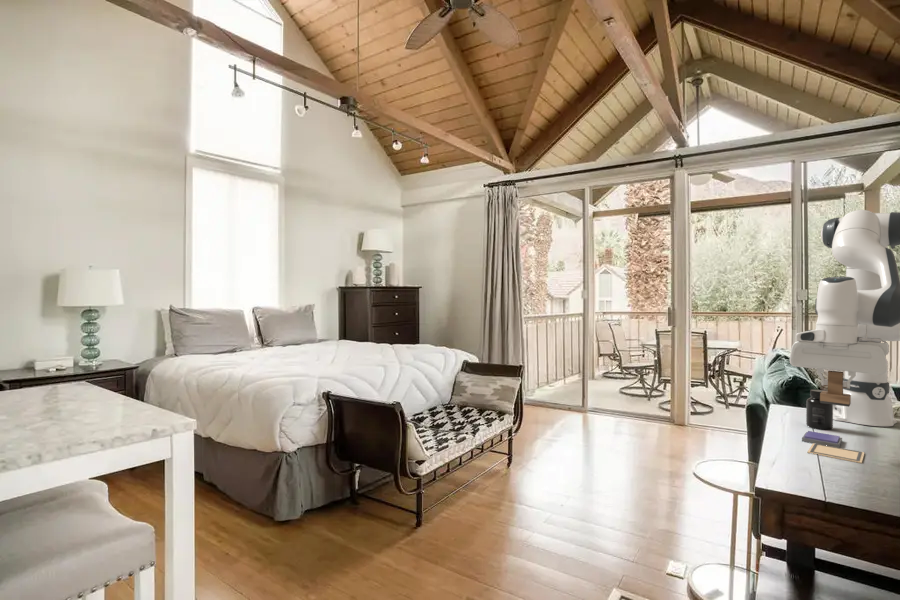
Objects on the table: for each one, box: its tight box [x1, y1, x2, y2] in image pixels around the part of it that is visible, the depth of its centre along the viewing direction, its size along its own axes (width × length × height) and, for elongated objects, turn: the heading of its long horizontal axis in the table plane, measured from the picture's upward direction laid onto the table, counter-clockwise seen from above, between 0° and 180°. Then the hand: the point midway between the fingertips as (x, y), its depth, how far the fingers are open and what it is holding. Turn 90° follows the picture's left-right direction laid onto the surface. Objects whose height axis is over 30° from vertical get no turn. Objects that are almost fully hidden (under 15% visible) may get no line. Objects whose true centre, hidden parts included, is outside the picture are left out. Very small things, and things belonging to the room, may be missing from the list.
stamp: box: [820, 370, 851, 407], centre depth 126 cm, size 5×6×9 cm
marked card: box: [807, 443, 865, 464], centre depth 125 cm, size 11×11×1 cm
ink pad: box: [801, 430, 843, 448], centre depth 136 cm, size 9×8×2 cm
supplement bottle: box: [805, 389, 834, 431], centre depth 151 cm, size 7×7×12 cm
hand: (835, 386), depth 126 cm, fingers closed on stamp, 3 cm apart
